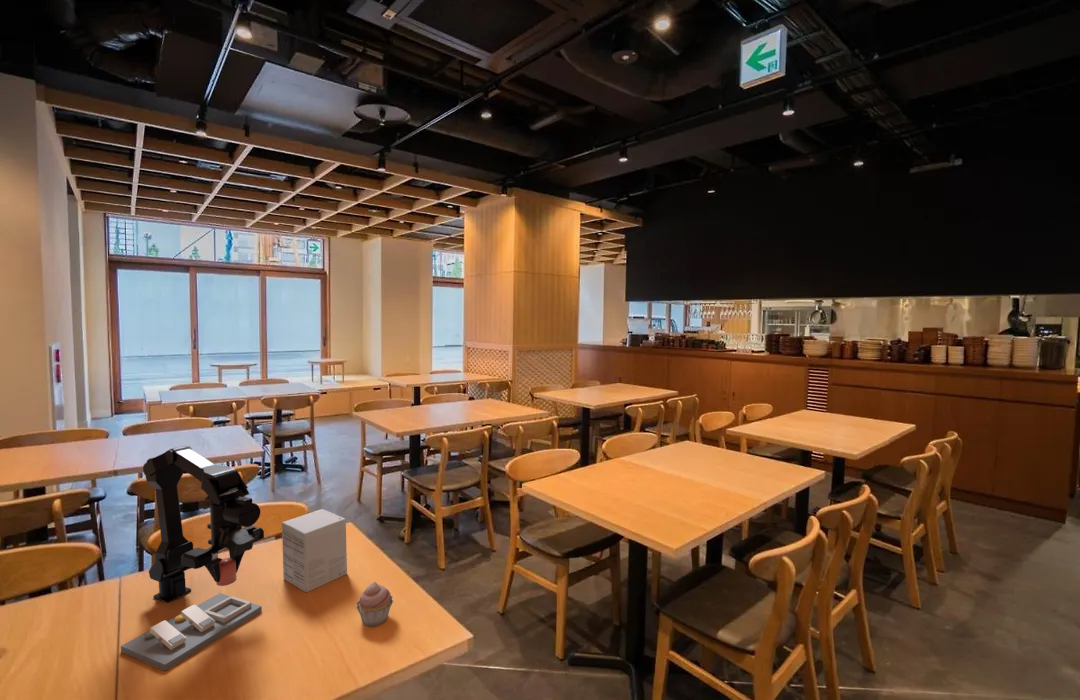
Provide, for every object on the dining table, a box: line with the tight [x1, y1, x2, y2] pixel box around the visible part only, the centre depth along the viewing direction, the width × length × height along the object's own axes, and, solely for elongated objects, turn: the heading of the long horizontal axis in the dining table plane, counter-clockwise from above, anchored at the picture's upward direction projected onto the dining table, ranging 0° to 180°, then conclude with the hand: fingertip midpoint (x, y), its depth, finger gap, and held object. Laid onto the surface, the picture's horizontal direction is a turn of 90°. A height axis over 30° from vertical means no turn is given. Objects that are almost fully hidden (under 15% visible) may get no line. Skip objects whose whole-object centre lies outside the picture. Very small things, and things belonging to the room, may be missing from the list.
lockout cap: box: [215, 557, 237, 587], centre depth 130 cm, size 4×4×6 cm
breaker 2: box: [180, 604, 215, 632], centre depth 124 cm, size 8×4×1 cm, turn 68°
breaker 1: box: [149, 619, 186, 650], centre depth 118 cm, size 8×4×1 cm, turn 68°
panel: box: [120, 592, 263, 672], centre depth 125 cm, size 16×24×3 cm, turn 158°
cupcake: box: [355, 581, 394, 627], centre depth 130 cm, size 9×9×10 cm
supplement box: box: [281, 508, 348, 593], centre depth 150 cm, size 13×13×18 cm
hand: (226, 577), depth 130 cm, fingers closed on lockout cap, 4 cm apart
